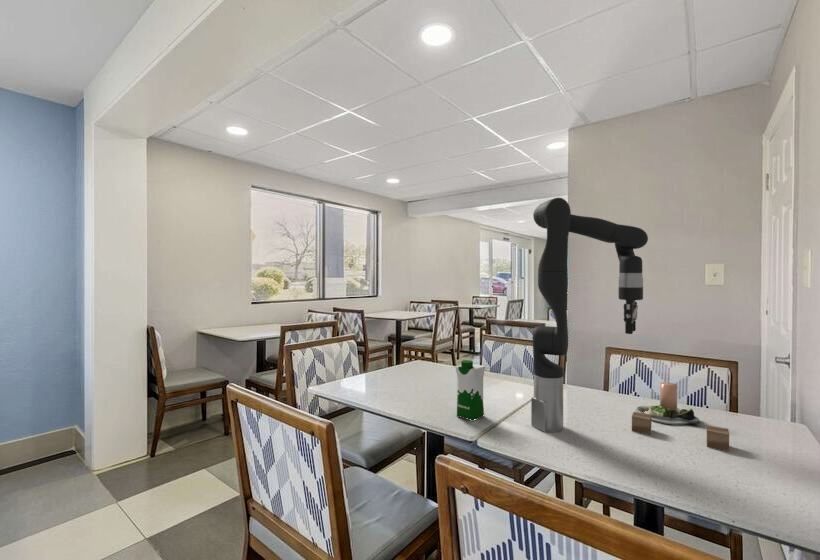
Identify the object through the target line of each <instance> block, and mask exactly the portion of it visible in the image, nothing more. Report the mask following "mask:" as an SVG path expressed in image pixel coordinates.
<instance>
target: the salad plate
mask: <svg viewBox="0 0 820 560" xmlns="http://www.w3.org/2000/svg"><path fill="white" fill-rule="evenodd" d="M648 410H649V411H648ZM645 411H646V412H648V414H650V415H651V422H656V423H660V424H662V425H663V424H664V425H669V424H672V425H673V426H678V425H679V426H696V425H699V424H702V422H701V421H700V419H699V417H697V416H696V415H695V411H694V410H693V408H688V409H686V408H678V407H677V409H667V408H663V407H661V406H660V404H657V405H650V406H649V405H639V406H637V407H636V408H635V412H639V413H644V412H645ZM646 412H645V413H644V414H647V413H646Z"/></svg>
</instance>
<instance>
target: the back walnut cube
mask: <svg viewBox="0 0 820 560" xmlns="http://www.w3.org/2000/svg"><path fill="white" fill-rule="evenodd" d="M631 432H632V433H633V432H634V433H637V434H638V433H639V434H644V435H648V436H650V435H651V432H652V420H651V415H650V413H646V414H644V413H639V412H637V411H633V413H632V414H631Z"/></svg>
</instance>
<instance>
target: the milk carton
mask: <svg viewBox="0 0 820 560" xmlns="http://www.w3.org/2000/svg"><path fill="white" fill-rule="evenodd" d="M485 369H486V366H485V365H480V364H476V363H473V360H468V359H467V360H466V359H465V360H464V359H463V360H461V364H460V365H459V364H458V365H456V366H455V373H456V397H457V398H456V400H457V401H456V417H457V416H461V417H464V418H468V419H471V420H474V419H477V418H479V417H481V416H483V415H484V416H485V411H484V409H485V408H484V376H485V371H486V370H485ZM484 416H483V417H484ZM481 418H482V417H481ZM479 419H480V418H479ZM477 420H478V419H477Z"/></svg>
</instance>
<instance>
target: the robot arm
mask: <svg viewBox="0 0 820 560" xmlns="http://www.w3.org/2000/svg"><path fill="white" fill-rule="evenodd" d="M571 211H572V210H571V207H570V205H569V203H568V201H567V200H566V199H564V198H562V197H554V198H551V199H548V200H547V201H544V202H542V203H540V204H538V205H537V206H536V208H535V209H534V211H533V214H532V215H533V216H532V217H533V221H534V222H535V224H536V225H537V226H538V227H540V228H541V229H546V242H545V245H544V249H543V252H542V254H541V257H540V259H539V263H538V268H537V287H538V290H539V292H540V294H541V295H542V296H543V298H544V299H545V301H546V303H547V304H548V305H549V308H550V310H551V311H552V313H553V316H554V319H555V323H556V326H548V325H546V326H545V325H537V326H535V327H534V328H533V331H532V338H531V339H532V355H533V358H532V359H533V396H532V397H531V398H530V399H531V403H530V404H531V405H530V406H531V409H530V410H531V411H530V412H531V413H530V414H531V416H530V417H531V419H530V420H531V427H534V428H536V429H537V430H540V431H542V432H544V433H546V432H550V433H555V432H557V433H558V432H561V431H563V430H564V369H563V367H562V366H561V365H559V364H557V363H555V362H553V361H551V360H550V359H548V357H546V355H550V356H562V357H563V356H565V355H566V354H567V352H568V350H569V327H568V306H567V305H568V279H569V278H568V275H569V273H568V272H569V271H568V267H569V266H568V259H569V258H568V256H569V255H568V254H569V253H568V252H569V249H568V247H569V245H568V244H569V234H570V233H572V234H577V235H580V236H584V237H587V238H591V239H595V240H597V241H600V242H604V243H607V244H614V246H615V251H616V255H617V258H618V262H619V266H618V267H619V270H618V271H619V272H618V300H620V301H622V300H623V301H625V303H624V304H623V321H624V323H625V324H624V326H625V327H624V330H625V334H627V335H633V334H634V332H635V331H636V327H637V326H636V324H637V323H636V321H637V320H638V303H637V301H642V300H644V276H643V259H642V257H641V256H638V255H635V252H634V249H635V250H638V249H641V248H643V247H645V245H647V243H648V240H649V238H648V237H649V236H648V234H647V232H646V231H645V230H644V229H642V228H641V227H637V226H632V225H624V224H618V223H615V222H613V221H609V220H607V219H603V218H598V217H593V216H585V215H584V216H583V215H576V214H572V212H571Z"/></svg>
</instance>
